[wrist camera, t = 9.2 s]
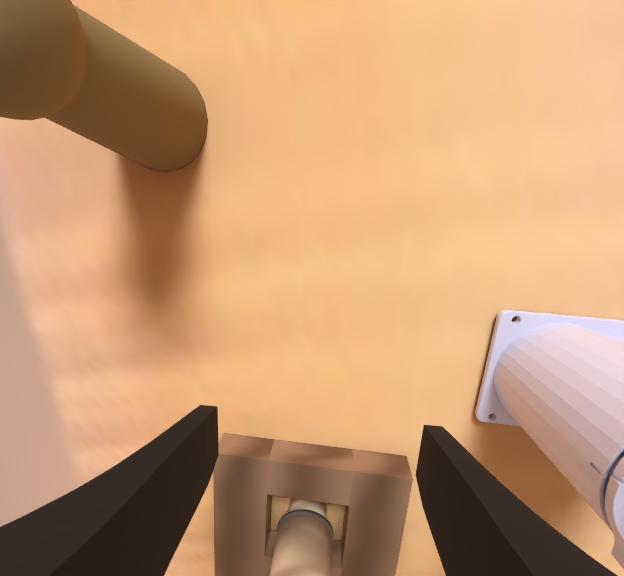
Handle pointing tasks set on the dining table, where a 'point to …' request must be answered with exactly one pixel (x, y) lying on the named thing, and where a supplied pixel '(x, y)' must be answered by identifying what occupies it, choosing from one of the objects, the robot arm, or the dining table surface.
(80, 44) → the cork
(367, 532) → the walnut board
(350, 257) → the dining table surface
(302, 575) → the ash peg
